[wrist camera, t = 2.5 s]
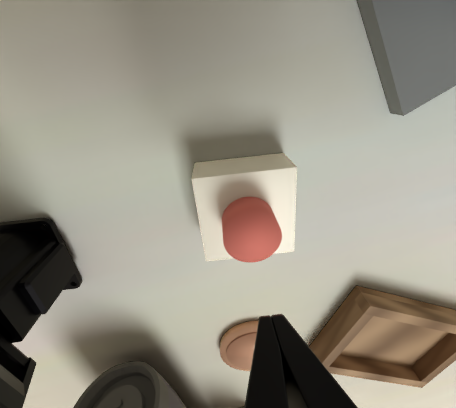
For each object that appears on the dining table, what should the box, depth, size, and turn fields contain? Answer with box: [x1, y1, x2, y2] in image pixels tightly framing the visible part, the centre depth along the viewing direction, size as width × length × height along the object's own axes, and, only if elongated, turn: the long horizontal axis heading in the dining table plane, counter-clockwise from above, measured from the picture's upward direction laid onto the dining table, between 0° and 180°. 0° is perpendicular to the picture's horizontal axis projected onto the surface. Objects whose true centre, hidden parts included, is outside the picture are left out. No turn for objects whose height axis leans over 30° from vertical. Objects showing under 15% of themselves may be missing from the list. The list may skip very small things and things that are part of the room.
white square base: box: [191, 153, 297, 261], centre depth 17 cm, size 6×6×3 cm
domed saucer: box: [220, 321, 259, 371], centre depth 25 cm, size 7×7×1 cm
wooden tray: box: [309, 286, 456, 388], centre depth 25 cm, size 14×10×2 cm
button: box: [222, 197, 282, 262], centre depth 14 cm, size 3×3×2 cm
